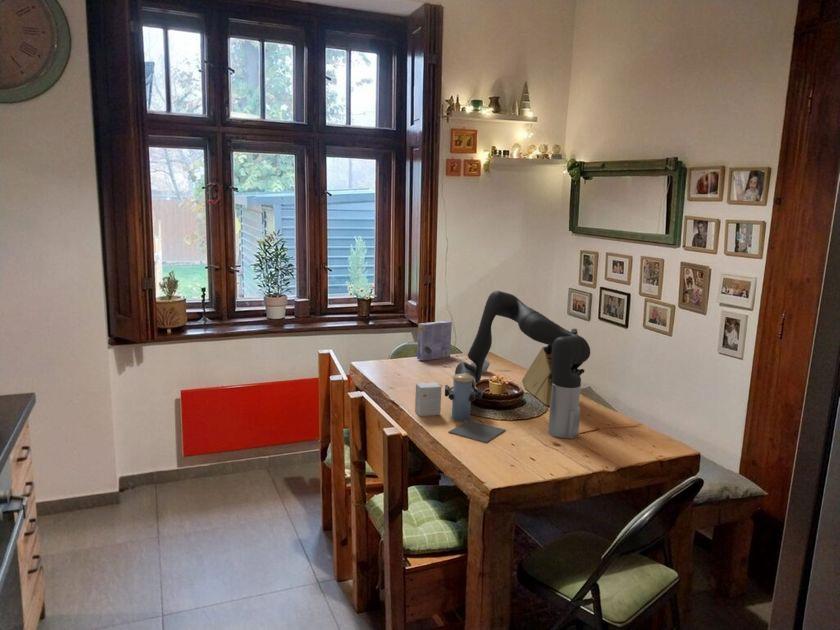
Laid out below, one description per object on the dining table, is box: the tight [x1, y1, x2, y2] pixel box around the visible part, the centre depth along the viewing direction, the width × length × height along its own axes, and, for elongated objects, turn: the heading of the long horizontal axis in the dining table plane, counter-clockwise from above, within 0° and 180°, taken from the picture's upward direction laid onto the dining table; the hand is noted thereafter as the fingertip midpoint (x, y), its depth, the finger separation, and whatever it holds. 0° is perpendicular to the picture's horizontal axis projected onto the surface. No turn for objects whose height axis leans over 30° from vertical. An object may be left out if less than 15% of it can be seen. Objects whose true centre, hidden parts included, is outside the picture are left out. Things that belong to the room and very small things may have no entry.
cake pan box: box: [416, 320, 453, 362], centre depth 303 cm, size 19×5×18 cm, turn 130°
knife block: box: [521, 327, 585, 407], centre depth 245 cm, size 11×35×31 cm, turn 12°
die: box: [470, 355, 491, 374], centre depth 282 cm, size 8×9×10 cm
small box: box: [414, 381, 442, 417], centre depth 225 cm, size 8×6×10 cm
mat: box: [448, 419, 507, 444], centre depth 209 cm, size 14×14×1 cm
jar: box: [451, 374, 473, 422], centre depth 220 cm, size 7×7×15 cm
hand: (461, 398), depth 218 cm, fingers closed on jar, 6 cm apart
